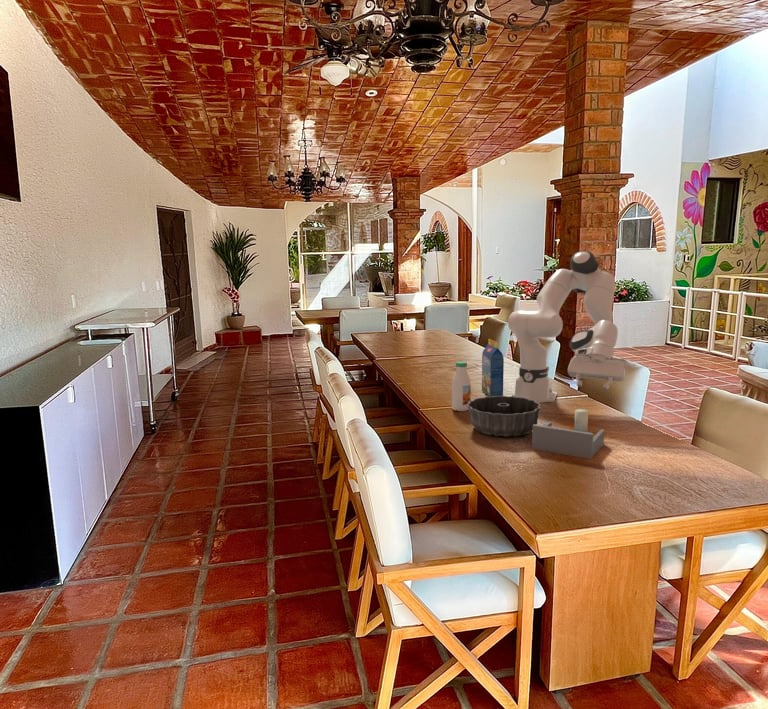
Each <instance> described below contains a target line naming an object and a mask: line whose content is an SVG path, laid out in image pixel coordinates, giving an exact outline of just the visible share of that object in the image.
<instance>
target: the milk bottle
mask: <svg viewBox="0 0 768 709" xmlns="http://www.w3.org/2000/svg"><path fill="white" fill-rule="evenodd" d="M467 367H468V362H467V361H462V360H461V361H455V369H456V370H455V372H454V375H453V377H452V381H451V409H452V410H453V411H456V410H457V411H458V412H467V410H468V411H469V408H468V407H467V404H468V402H469V401H472V398H471V396H472V394H471V393H472V392H471V391H472V390H471V388H472V387H471V386H472V385H471V379H470V376H469V373H468V371H467Z"/></svg>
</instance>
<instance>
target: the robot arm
mask: <svg viewBox="0 0 768 709" xmlns="http://www.w3.org/2000/svg"><path fill="white" fill-rule="evenodd" d="M569 265H570V269H567V268H560V269H557V270H556V271H555V272H553V274H551V276H550V277H549V278H548V280H547V281H546V282H545V284H544V285H543V287H542V288H541V289H540V291H539V292H538V295H537V296H536V303H537V305H538V307H539V308H538V309H537V310H529V309H528V310H527V309H522V310H521V309H520V310H515V311H513V312H511V313H510V315H509V317H508V319H507V326H508V329H509V331H510V332H511V333H512V334H513V336H515V338H516V341H517V343H518V346H519V353H520V354H519V355H520V357H519V359H520V364H519V365H520V367H519V368H518V375H519V376H518V377H517V378H516V380H515V387H514V388H515V389H514V393H512V394H511V396H514V397H522V398H527V399H530V400H534V401H535V402H537V403H539V404H541V403H553V402H555V400H556V398H557V395H558V392H557V391H554V390H553V381H552V380H551V379H550V378H549V369H550V367H549V366H547V358H548V352H547V349H546V347H545V346H544V345H542V344H541V342H540V340H539V338H541V339H542V338H543V339H548V338H549V339H550V338H556V337H558V336H559V335H560V334H561V332H562V331H563V329H564V328H563V326H564V323H563V319H562V317H561V316H560V310H561V308H562V306H563V305H564V303H565V301H566V299H567V298H568V296H569V295H570V293H571V292H572V290H573V292H574V293H576V294H581V295H584V299H583V307H584V310H585V312H586V313H587V314H588V316H589V317H590V319H591V321H592V322H593V324H594V325H593V326H592V327H591V328H588V329H583V330H579V331H577V332H575V333H574V335H572V337H571V339H570V342H569V348H570V349H571V350H572V351H573V352H574V356H573V357H571V359H570V362H569V364H568V366H567V374H568V375H569V377H572V378H573V377H574V378H575V379H576V381H577V382H576V386H577V387H582V386H583V380H581V378H583V379H591V380H601V381H607V382H604V383H603V386H602V387H603V390H607V391H608V390H609V387H610V386H612V384H614V381H615V382H619V383H620V382H624V380H625V379H626V370H627V369H628V366H629V361H628V360H626V359H625V358H622V357H621V358H618V357H614V351H615V350H614V348H615V347H616V345H617V341H618V334H619V333H618V332H619V331H618V330H619V329H618V327H617V325H616V324H615V323H614V321H613V320H614V319H613V309H612V308H613V299H614V296H615V290H616V280H615V277H614V275H613V274H611V273H609V272H608V271H607V272H606V271H601V270H600V268H599V266H600V264H599V262H598V260H597V258H596V257H595V255H594V254H593V253H592V252H591V251H589V250H581V251H577V252H575V253H574V254H573V255H572V256H571V258H570V263H569Z"/></svg>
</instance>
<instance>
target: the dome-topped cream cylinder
mask: <svg viewBox="0 0 768 709" xmlns="http://www.w3.org/2000/svg"><path fill="white" fill-rule="evenodd" d="M588 425H589V410H587V409H583V408H577V409H575V410H574V430H575V431H581V432H588V427H589V426H588Z"/></svg>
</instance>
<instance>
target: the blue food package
mask: <svg viewBox="0 0 768 709" xmlns="http://www.w3.org/2000/svg"><path fill="white" fill-rule="evenodd" d="M498 345H499V344H498V341H495V340H494V339H491V338H488V344H487V345H486V346H485V348H483V350H482V355H481V357H482V358H481V391H482V392H483V394H485V395H486V394H487V395H486V396H487V397H492V396H504V368H505V367H504V366H505V365H504V362H505V361H504V360H505V359H504V355H503V352H502V351H500V349H499V348H498V347H499V346H498Z"/></svg>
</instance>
